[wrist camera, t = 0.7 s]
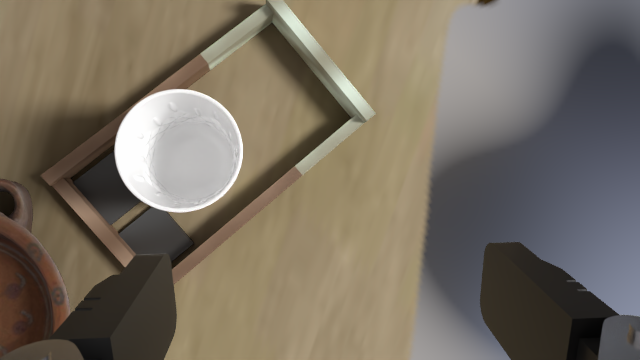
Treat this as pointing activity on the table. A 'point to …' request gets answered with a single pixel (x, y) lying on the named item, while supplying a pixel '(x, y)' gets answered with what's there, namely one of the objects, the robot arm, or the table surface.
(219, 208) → the table surface
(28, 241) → the dish
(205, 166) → the white cup
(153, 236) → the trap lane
